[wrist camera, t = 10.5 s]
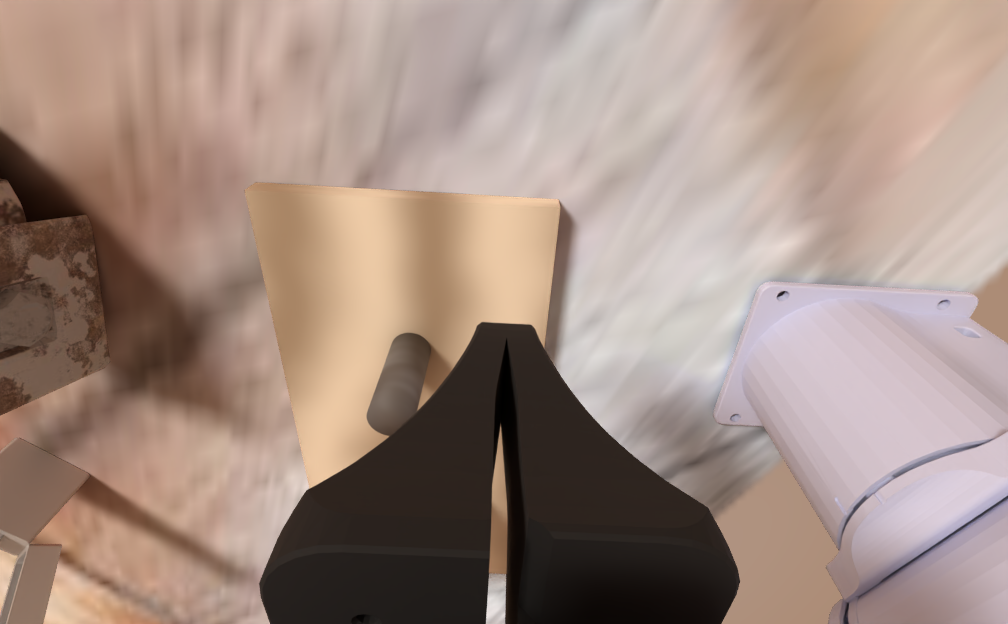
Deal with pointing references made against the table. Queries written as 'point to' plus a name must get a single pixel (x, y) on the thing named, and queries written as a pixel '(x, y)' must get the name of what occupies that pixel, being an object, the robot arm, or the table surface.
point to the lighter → (31, 524)
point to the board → (392, 305)
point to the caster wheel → (47, 304)
